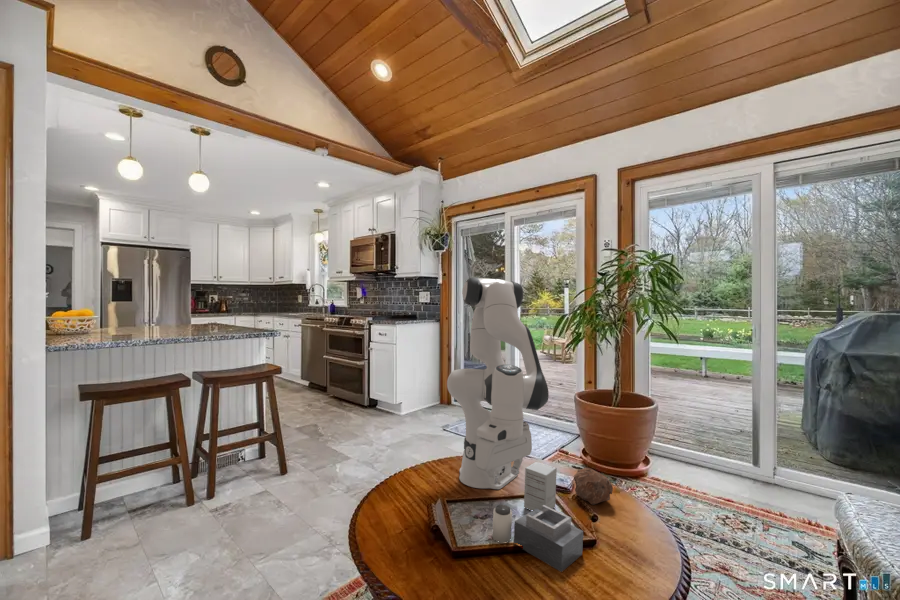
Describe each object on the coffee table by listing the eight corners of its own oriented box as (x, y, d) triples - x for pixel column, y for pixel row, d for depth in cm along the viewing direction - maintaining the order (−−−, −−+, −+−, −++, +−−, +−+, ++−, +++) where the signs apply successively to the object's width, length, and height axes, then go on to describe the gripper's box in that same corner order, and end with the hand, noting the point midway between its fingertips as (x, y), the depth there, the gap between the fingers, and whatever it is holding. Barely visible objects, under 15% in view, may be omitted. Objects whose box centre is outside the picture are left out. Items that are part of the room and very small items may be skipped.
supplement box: (534, 499, 128) (535, 460, 128) (555, 508, 123) (557, 467, 123) (522, 508, 122) (524, 467, 122) (545, 517, 117) (546, 474, 117)
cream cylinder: (500, 529, 110) (501, 501, 110) (514, 538, 106) (516, 508, 106) (488, 536, 106) (489, 507, 107) (503, 545, 103) (504, 515, 103)
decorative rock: (618, 511, 123) (619, 478, 123) (582, 510, 122) (584, 478, 122) (599, 490, 136) (600, 461, 136) (567, 490, 135) (568, 461, 135)
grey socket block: (541, 526, 112) (542, 496, 113) (587, 549, 102) (589, 517, 102) (513, 544, 104) (514, 511, 104) (561, 572, 93) (562, 536, 93)
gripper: (519, 417, 116) (518, 465, 116) (472, 430, 102) (470, 484, 101) (538, 423, 111) (536, 472, 111) (491, 437, 97) (488, 493, 97)
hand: (504, 478), depth 106 cm, fingers open, 8 cm apart
